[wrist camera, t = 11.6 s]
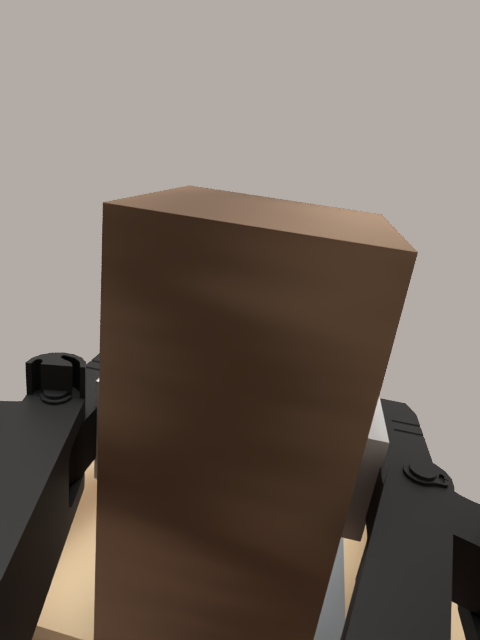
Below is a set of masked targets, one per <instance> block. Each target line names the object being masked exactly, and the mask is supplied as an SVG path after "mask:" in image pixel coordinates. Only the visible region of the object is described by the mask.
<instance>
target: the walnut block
mask: <svg viewBox="0 0 480 640" xmlns="http://www.w3.org/2000/svg"><path fill="white" fill-rule="evenodd" d="M417 253H418V252H417V251H416V250H415V249H414V248H413V247H412V246H411V245H410V244H409V243H408V242H407V241H406V240H405V238H404V237H403V236H402V235H401V234H400V233H399V232H398V231H397V230H396V229H395V228H394V227H393V226H392V225H391V224H390V223H389V222H388V221H387V220H386V219H385V218H384V216H383V215H382V214H376V213H369V212H362V211H356V210H348V209H342V208H336V207H329V206H322V205H315V204H309V203H302V202H295V201H288V200H282V199H275V198H269V197H262V196H255V195H248V194H242V193H235V192H229V191H222V190H215V189H209V188H202V187H195V186H185V187H180V188H175V189H169V190H164V191H159V192H154V193H149V194H144V195H139V196H134V197H129V198H123V199H118V200H113V201H108V202H103V225H102V272H101V275H102V276H101V320H100V323H101V325H100V366H99V412H98V459H97V506H96V553H95V600H94V640H314V636H315V632H316V629H317V625H318V621H319V617H320V614H321V610H322V606H323V603H324V599H325V595H326V591H327V588H328V584H329V580H330V577H331V573H332V569H333V565H334V562H335V558H336V554H337V551H338V547H339V543H340V539H341V536H342V532H343V528H344V525H345V521H346V517H347V513H348V510H349V506H350V502H351V499H352V495H353V491H354V487H355V484H356V480H357V476H358V473H359V469H360V465H361V461H362V458H363V454H364V450H365V447H366V443H367V439H368V435H369V432H370V428H371V424H372V421H373V417H374V413H375V409H376V406H377V402H378V398H379V395H380V391H381V387H382V383H383V380H384V376H385V372H386V368H387V365H388V361H389V357H390V354H391V350H392V346H393V342H394V339H395V335H396V331H397V327H398V324H399V320H400V316H401V313H402V309H403V305H404V302H405V298H406V294H407V290H408V286H409V283H410V279H411V276H412V272H413V268H414V264H415V261H416V257H417Z"/></svg>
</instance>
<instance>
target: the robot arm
mask: <svg viewBox="0 0 480 640" xmlns="http://www.w3.org/2000/svg"><path fill="white" fill-rule="evenodd" d="M99 366H100V353H99V354H98V355H97V356H96V357H95V358H93V359H92V361H91V362H89V363H88V364H86V362H85V361H84V360H83V359H82V358H81V357H78V356H76V355H74V354H68V353H48V354H42V355H39V356H36V357H33V358H31V359H30V360H29V361H27V362H26V385H27V395H26V397H25V398H24V399H23V401H18V402H16V401H15V402H14V401H0V640H32V638H33V635H34V632H35V629H36V626H37V623H38V620H39V618H40V615H41V612H42V609H43V606H44V603H45V600H46V597H47V594H48V592H49V589H50V586H51V583H52V580H53V577H54V574H55V571H56V568H57V566H58V563H59V560H60V557H61V554H62V551H63V548H64V545H65V542H66V540H67V537H68V534H69V531H70V528H71V525H72V522H73V519H74V517H75V514H76V511H77V508H78V505H79V502H80V499H81V496H82V493H83V491H84V486H85V471H86V470H87V468H88V467H89V466H90V465H91V463H92V462H93V461H94V478H95V479H97V459H98V412H99ZM365 525H366V530H367V541H366V545H365V548H364V551H363V555H362V558H361V562H360V565H359V568H358V572H357V575H356V578H355V581H356V582H355V585H354V589H353V593H352V597H351V601H350V605H349V608H348V612H347V616H346V620H345V624H344V627H343V631H342V635H341V639H340V640H451V608H452V602H454V603H456V604H457V606H458V613H459V617H460V620H461V624H462V628H463V631H464V635H465V639H466V640H480V504H478V503H475V502H473V501H471V500H468V499H467V498H465V497H462V496H461V495H459V494H457V493H456V492H454V485H453V482H452V479H451V478H450V477H449V476H448V474H447V473H446V472H445V471H444V470H442V469H441V468H440V467H438V466H437V465H435V464H433V462H432V459H431V456H430V454H429V451H428V448H427V445H426V442H425V439H424V437H423V433H422V430H421V428H420V424H419V422H418V419H417V416H416V414H415V413H414V412H413V411H412V410H411V409H410V408H409V407H408V406H407V405H406V404H405V403H400V402H395V401H390V400H385V399H380V397H379V398H378V402H377V406H376V409H375V413H374V417H373V421H372V424H371V428H370V432H369V435H368V439H367V443H366V447H365V450H364V454H363V458H362V461H361V465H360V469H359V473H358V476H357V480H356V484H355V487H354V491H353V495H352V499H351V502H350V506H349V510H348V513H347V517H346V521H345V525H344V528H343V532H342V536H341V537H342V538H346V539H350V540H355V541H359V542H361V539H362V536H363V532H364V529H365Z"/></svg>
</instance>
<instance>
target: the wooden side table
mask: <svg viewBox="0 0 480 640" xmlns="http://www.w3.org/2000/svg"><path fill="white" fill-rule="evenodd" d="M96 506H97V479H95V478H94V461H93V462H92V463H91V465H90V466H89V467H88V468H87V470H86V471H85V486H84V491H83V493H82V496H81V499H80V502H79V505H78V508H77V511H76V514H75V517H74V519H73V522H72V525H71V528H70V531H69V534H68V537H67V540H66V542H65V545H64V548H63V551H62V554H61V557H60V560H59V563H58V566H57V568H56V571H55V574H54V577H53V580H52V583H51V586H50V589H49V592H48V594H47V597H46V600H45V603H44V606H43V609H42V612H41V615H40V618H39V620H38V623H37V626H36V629H35V632H34V635H33V638H32V640H94V600H95V553H96ZM366 541H367V530H366V525H365V529H364V532H363V536H362V539H361V542H359V541H355V540H350V539H346V538H342V537H341V539H340V543H339V547H338V551H337V554H336V558H335V562H334V565H333V569H332V573H331V577H330V580H329V584H328V588H327V591H326V595H325V599H324V603H323V606H322V610H321V614H320V617H319V621H318V625H317V629H316V632H315V636H314V640H340V639H341V635H342V631H343V627H344V624H345V620H346V616H347V612H348V608H349V605H350V601H351V597H352V593H353V589H354V585H355V582H356V581H355V578H356V575H357V572H358V568H359V565H360V562H361V558H362V555H363V551H364V548H365V545H366ZM451 640H466V639H465V635H464V631H463V628H462V624H461V620H460V617H459V613H458V606H457V604H456V603H454V602H452V608H451Z"/></svg>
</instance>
